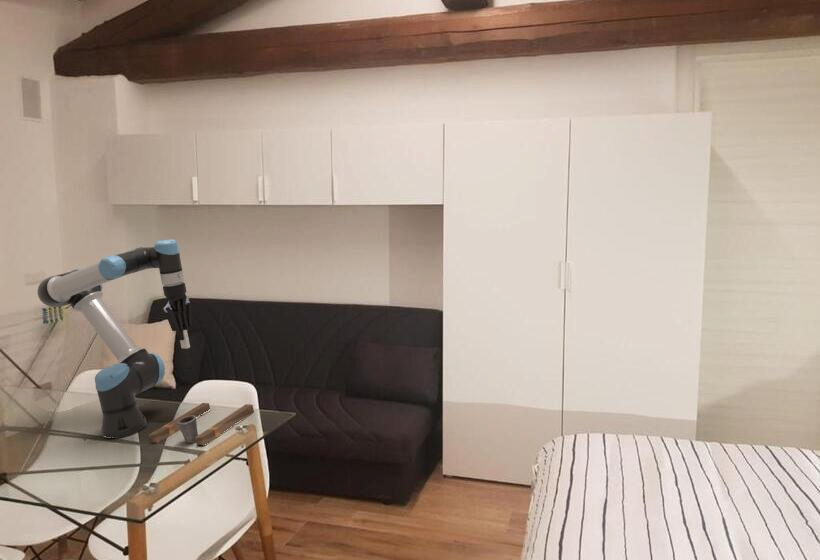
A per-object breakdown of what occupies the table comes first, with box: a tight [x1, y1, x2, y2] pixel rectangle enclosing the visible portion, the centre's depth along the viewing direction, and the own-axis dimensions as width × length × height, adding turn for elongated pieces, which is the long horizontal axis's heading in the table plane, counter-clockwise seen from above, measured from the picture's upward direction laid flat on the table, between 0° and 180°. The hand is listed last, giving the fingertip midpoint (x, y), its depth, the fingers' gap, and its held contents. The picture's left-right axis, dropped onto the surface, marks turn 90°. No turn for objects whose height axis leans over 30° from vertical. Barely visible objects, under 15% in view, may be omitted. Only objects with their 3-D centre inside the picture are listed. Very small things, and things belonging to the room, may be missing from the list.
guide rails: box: [149, 402, 255, 446], centre depth 232 cm, size 23×27×3 cm
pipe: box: [177, 415, 199, 444], centre depth 223 cm, size 6×13×8 cm, turn 17°
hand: (185, 347), depth 238 cm, fingers closed
